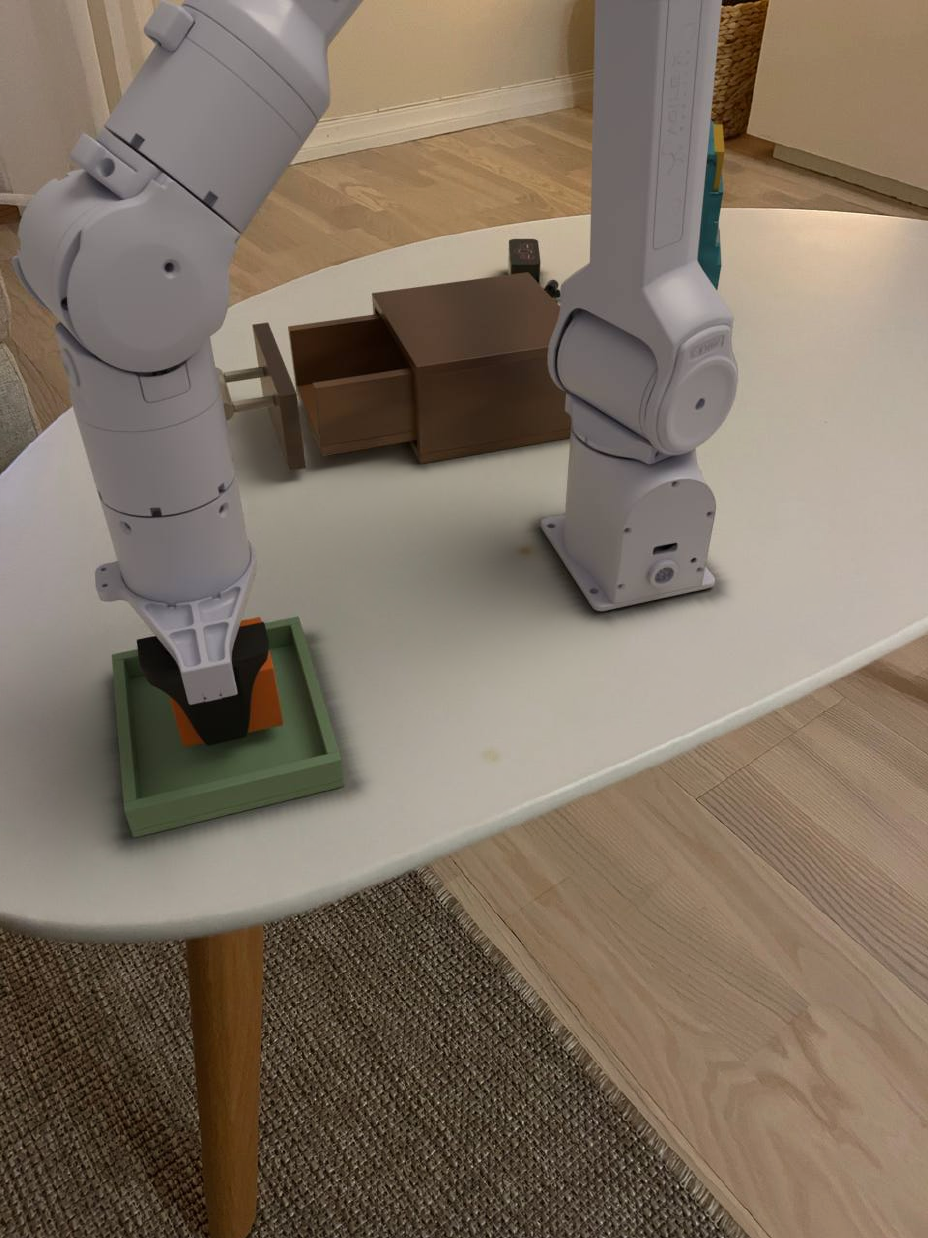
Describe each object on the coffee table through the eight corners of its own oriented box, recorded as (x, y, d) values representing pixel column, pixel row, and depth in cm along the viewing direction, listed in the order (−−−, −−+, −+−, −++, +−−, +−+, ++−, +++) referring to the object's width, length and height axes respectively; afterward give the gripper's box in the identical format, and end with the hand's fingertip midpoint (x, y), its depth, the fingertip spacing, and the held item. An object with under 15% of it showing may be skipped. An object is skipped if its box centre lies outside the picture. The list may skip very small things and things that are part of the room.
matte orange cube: (283, 725, 51) (273, 668, 49) (183, 748, 50) (167, 690, 47) (270, 672, 54) (260, 616, 52) (175, 693, 53) (160, 636, 50)
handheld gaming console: (663, 292, 95) (685, 118, 85) (708, 294, 94) (736, 120, 84) (661, 338, 87) (685, 154, 78) (709, 341, 87) (740, 157, 77)
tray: (345, 786, 50) (341, 759, 49) (133, 838, 48) (124, 811, 47) (302, 641, 58) (298, 615, 57) (119, 680, 56) (111, 653, 55)
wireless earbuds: (509, 302, 93) (510, 268, 91) (507, 271, 99) (508, 238, 96) (560, 302, 93) (562, 267, 91) (555, 271, 98) (557, 238, 96)
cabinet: (420, 464, 72) (416, 366, 68) (377, 383, 82) (371, 292, 77) (583, 435, 75) (591, 339, 70) (524, 361, 84) (528, 271, 79)
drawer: (228, 481, 69) (214, 406, 66) (208, 403, 78) (194, 332, 74) (447, 444, 73) (446, 370, 69) (406, 372, 81) (402, 303, 77)
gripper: (65, 412, 47) (130, 630, 56) (73, 602, 37) (151, 834, 46) (218, 389, 49) (257, 605, 58) (267, 565, 38) (306, 796, 47)
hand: (219, 704), depth 52 cm, fingers closed on matte orange cube, 4 cm apart
